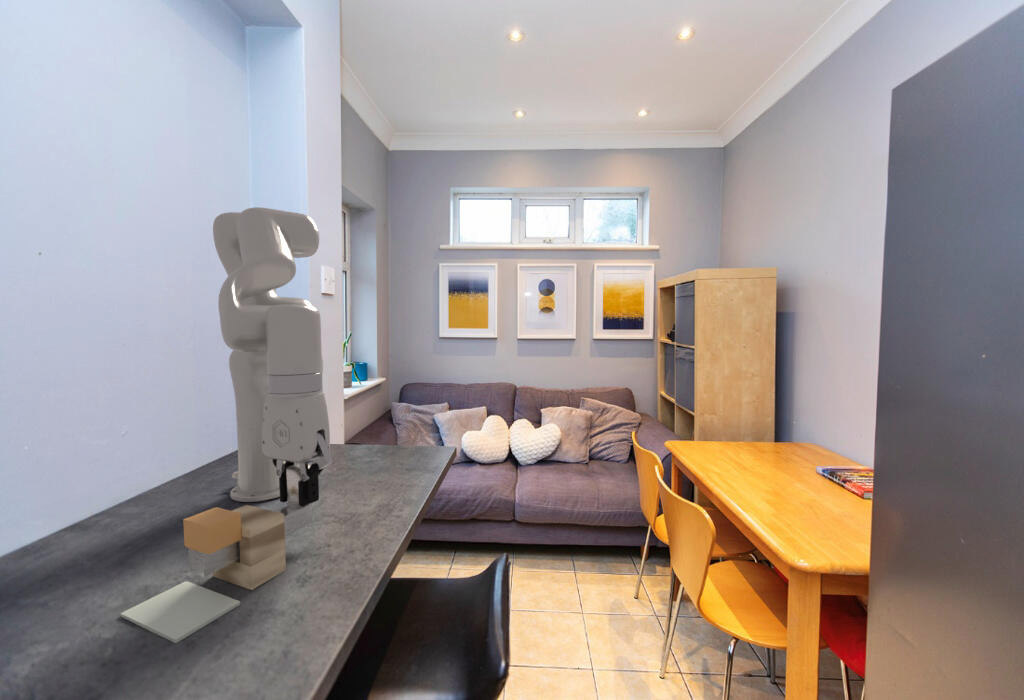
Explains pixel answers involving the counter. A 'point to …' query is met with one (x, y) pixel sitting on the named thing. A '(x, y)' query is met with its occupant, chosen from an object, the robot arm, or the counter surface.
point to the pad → (180, 611)
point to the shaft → (212, 562)
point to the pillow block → (257, 548)
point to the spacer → (212, 530)
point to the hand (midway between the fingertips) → (299, 500)
